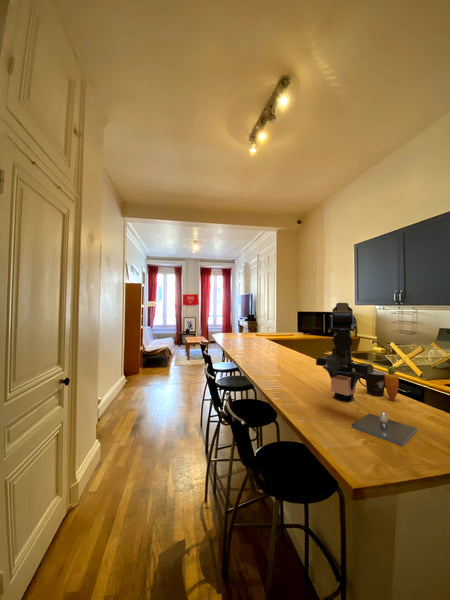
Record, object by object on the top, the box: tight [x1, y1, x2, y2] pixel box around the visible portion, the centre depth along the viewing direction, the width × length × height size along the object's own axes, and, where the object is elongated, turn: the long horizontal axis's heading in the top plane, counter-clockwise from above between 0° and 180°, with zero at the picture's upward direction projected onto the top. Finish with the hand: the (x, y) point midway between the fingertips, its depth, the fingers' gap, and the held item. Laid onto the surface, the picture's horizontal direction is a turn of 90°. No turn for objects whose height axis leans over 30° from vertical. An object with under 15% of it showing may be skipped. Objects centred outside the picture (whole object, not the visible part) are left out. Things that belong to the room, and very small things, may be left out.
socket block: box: [330, 375, 356, 396], centre depth 89 cm, size 6×6×5 cm
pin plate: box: [351, 411, 418, 447], centre depth 79 cm, size 14×14×6 cm
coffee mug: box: [358, 369, 387, 398], centre depth 113 cm, size 12×9×10 cm
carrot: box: [385, 365, 399, 402], centre depth 104 cm, size 5×5×15 cm
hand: (343, 388), depth 89 cm, fingers closed on socket block, 6 cm apart
